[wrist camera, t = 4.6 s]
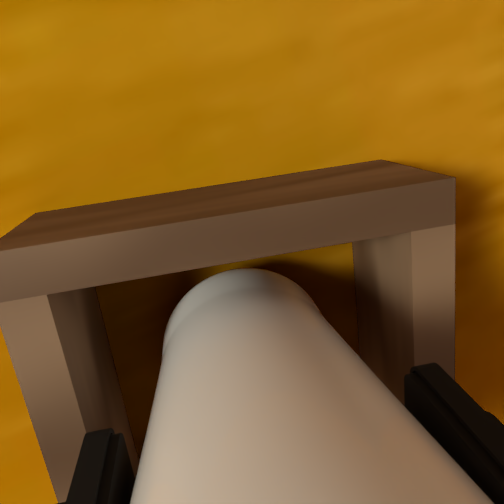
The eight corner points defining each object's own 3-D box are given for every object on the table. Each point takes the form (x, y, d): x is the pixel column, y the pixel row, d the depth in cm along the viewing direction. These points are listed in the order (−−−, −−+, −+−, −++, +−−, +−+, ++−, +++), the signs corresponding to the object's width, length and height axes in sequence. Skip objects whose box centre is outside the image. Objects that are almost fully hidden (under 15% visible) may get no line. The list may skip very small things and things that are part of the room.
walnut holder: (35, 213, 15) (-24, 255, 10) (380, 159, 16) (455, 177, 12) (115, 497, 18) (95, 615, 14) (393, 435, 19) (454, 528, 15)
